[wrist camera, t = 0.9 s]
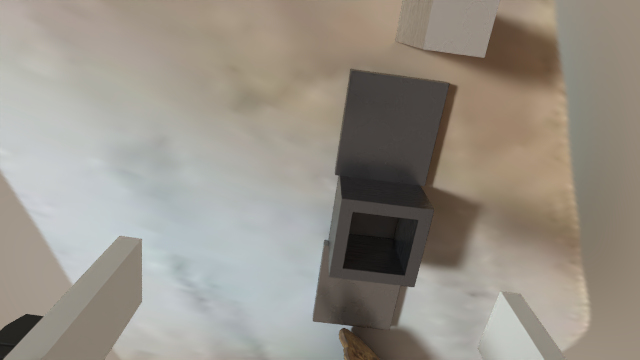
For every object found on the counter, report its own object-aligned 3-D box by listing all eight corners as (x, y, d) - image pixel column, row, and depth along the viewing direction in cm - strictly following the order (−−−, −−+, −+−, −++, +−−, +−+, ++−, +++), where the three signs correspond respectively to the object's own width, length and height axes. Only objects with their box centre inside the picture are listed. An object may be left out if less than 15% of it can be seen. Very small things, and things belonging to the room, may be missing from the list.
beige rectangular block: (404, -8, 31) (437, -21, 22) (450, -2, 31) (502, -11, 22) (394, 41, 32) (422, 49, 23) (439, 47, 32) (484, 57, 23)
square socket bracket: (350, 69, 33) (355, 78, 28) (445, 82, 33) (470, 94, 28) (312, 314, 42) (311, 359, 37) (388, 323, 43) (397, 368, 37)
